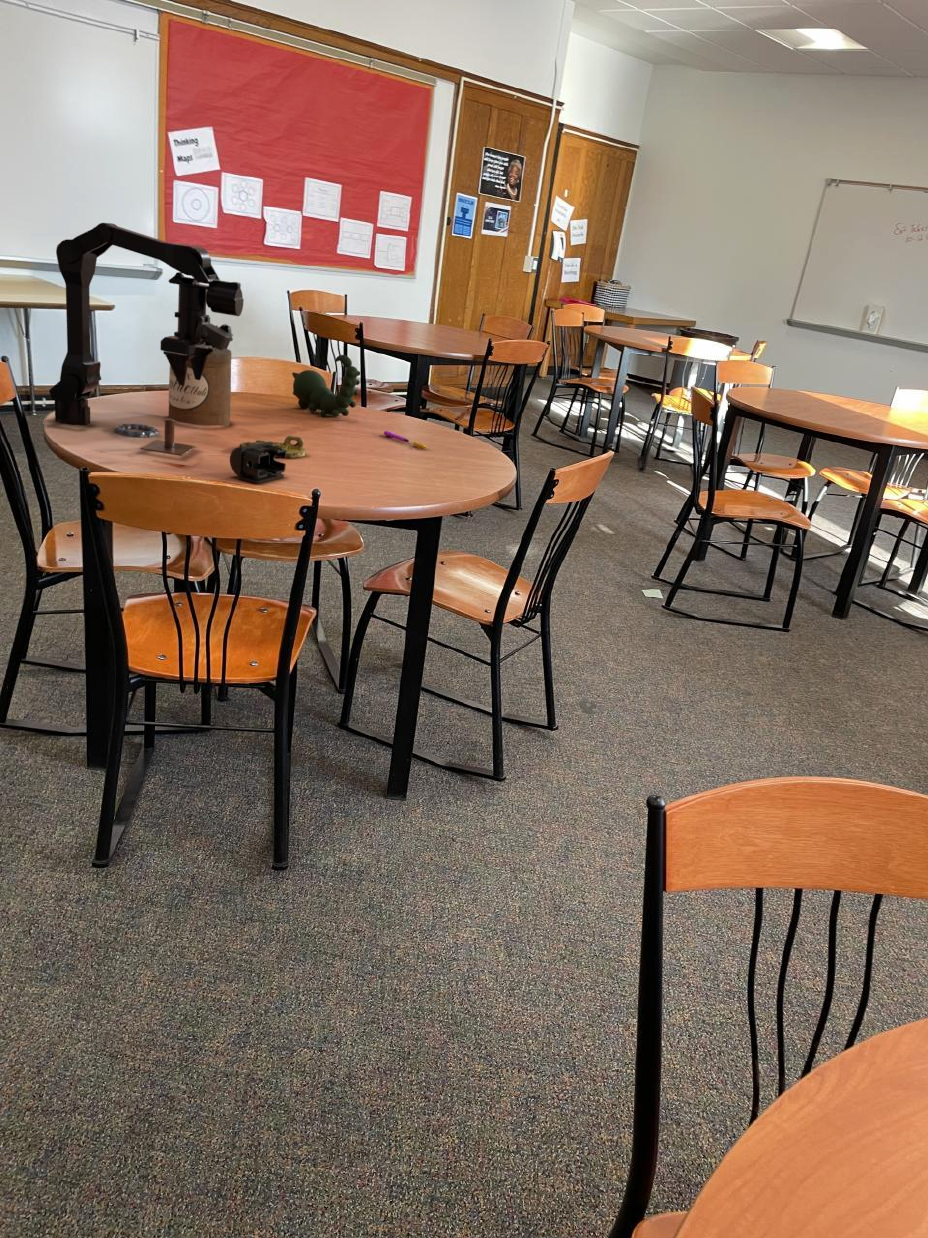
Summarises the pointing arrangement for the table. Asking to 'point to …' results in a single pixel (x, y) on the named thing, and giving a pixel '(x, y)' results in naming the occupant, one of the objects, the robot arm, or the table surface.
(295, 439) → the seal
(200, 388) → the wooden container
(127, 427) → the ring
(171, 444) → the stand
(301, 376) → the toy figurine
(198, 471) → the table surface
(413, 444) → the purple paintbrush
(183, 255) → the robot arm
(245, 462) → the end cap
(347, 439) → the table surface
